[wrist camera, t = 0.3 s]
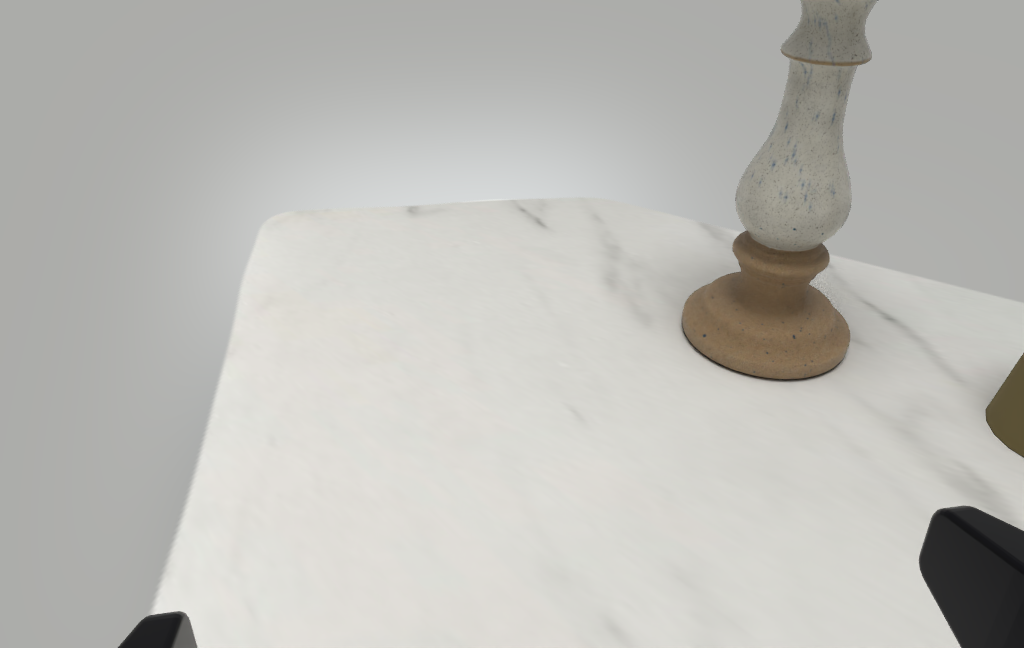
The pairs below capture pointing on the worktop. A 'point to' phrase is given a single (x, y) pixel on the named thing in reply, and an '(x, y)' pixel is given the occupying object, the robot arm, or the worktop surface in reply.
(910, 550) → the worktop surface
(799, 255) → the candle holder
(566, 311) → the worktop surface
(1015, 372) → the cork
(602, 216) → the worktop surface
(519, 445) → the worktop surface
